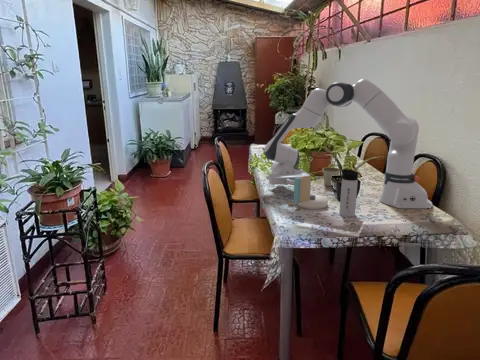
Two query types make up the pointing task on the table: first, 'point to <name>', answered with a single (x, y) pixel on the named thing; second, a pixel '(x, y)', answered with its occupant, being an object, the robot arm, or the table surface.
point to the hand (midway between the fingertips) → (294, 183)
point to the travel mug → (348, 193)
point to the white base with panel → (307, 194)
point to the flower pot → (329, 174)
